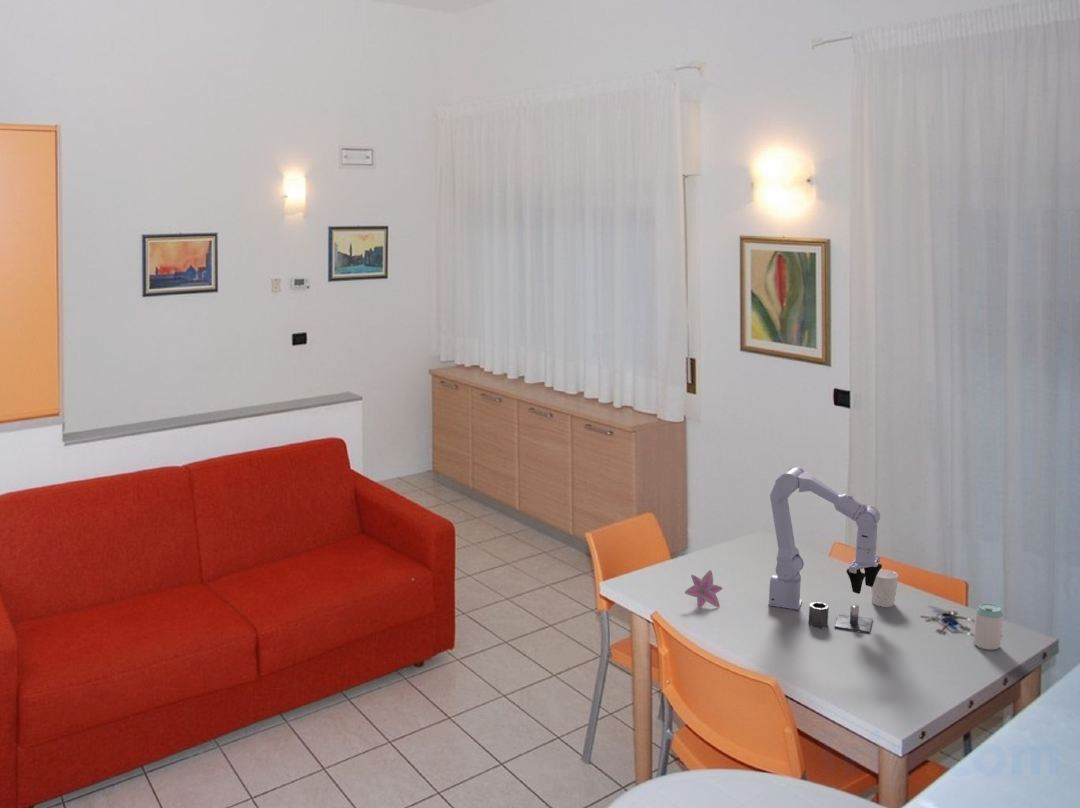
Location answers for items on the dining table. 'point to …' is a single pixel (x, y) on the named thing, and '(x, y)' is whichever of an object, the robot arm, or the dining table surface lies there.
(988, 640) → the can
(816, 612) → the tube
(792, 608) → the robot arm
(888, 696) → the dining table surface
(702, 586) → the lily
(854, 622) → the post
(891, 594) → the white cup
